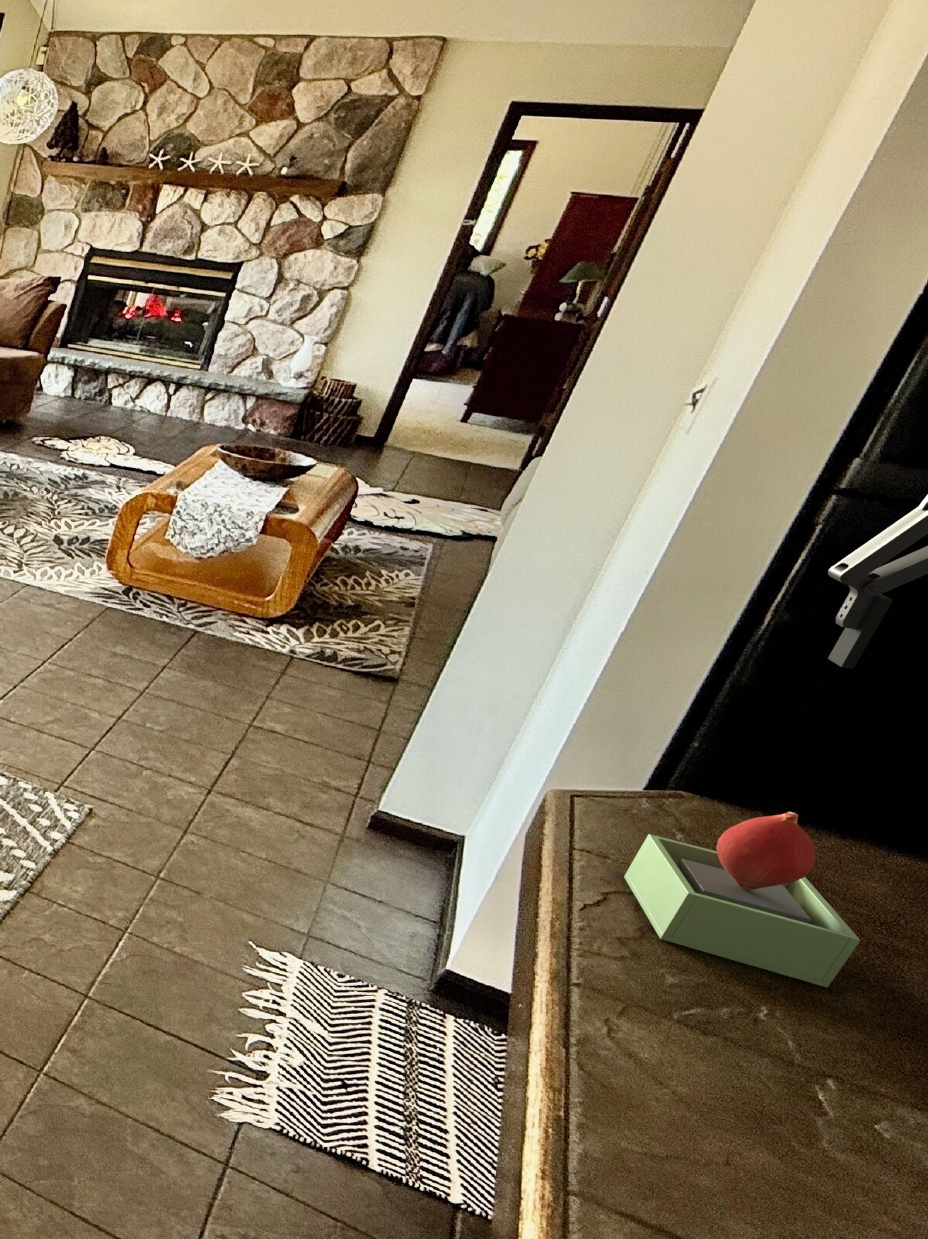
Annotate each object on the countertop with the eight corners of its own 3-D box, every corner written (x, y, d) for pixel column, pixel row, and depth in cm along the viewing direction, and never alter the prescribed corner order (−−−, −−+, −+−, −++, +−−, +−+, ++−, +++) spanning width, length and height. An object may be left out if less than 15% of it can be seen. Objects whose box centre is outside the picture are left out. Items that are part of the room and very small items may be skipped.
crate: (773, 917, 109) (802, 873, 107) (827, 987, 99) (861, 940, 97) (623, 876, 115) (648, 833, 113) (660, 939, 104) (688, 892, 102)
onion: (681, 867, 108) (726, 792, 105) (742, 872, 108) (789, 797, 105) (743, 902, 102) (792, 825, 99) (808, 908, 102) (859, 831, 99)
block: (760, 920, 108) (783, 884, 106) (787, 957, 102) (812, 919, 101) (660, 893, 111) (681, 858, 109) (681, 926, 106) (703, 890, 104)
